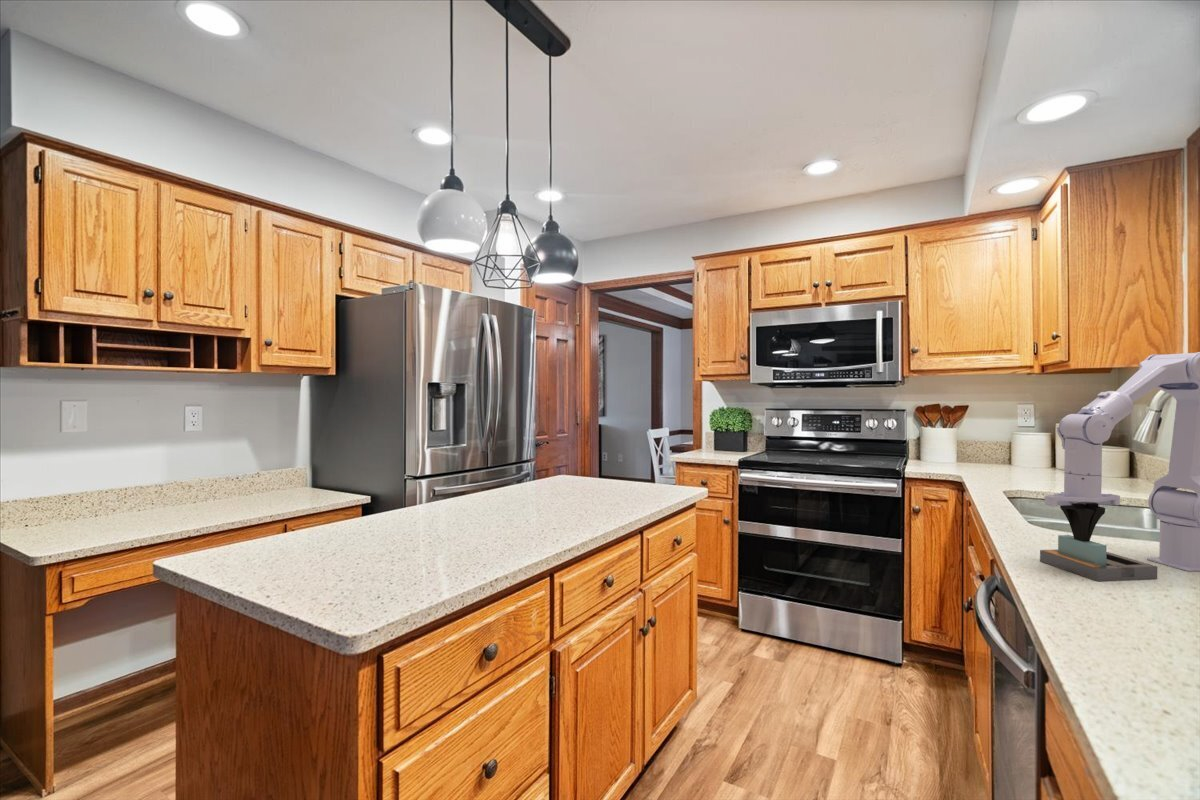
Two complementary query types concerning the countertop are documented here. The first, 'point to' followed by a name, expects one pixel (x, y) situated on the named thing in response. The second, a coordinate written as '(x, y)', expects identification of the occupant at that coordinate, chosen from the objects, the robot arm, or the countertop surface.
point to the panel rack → (1101, 567)
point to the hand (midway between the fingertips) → (1081, 540)
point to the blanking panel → (1082, 549)
